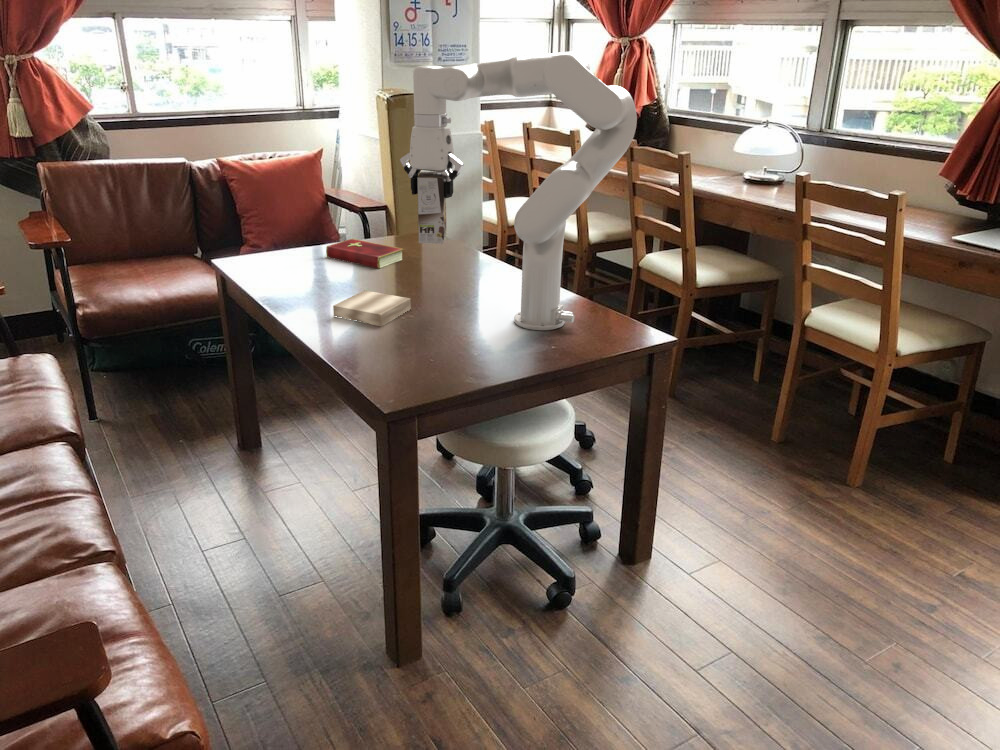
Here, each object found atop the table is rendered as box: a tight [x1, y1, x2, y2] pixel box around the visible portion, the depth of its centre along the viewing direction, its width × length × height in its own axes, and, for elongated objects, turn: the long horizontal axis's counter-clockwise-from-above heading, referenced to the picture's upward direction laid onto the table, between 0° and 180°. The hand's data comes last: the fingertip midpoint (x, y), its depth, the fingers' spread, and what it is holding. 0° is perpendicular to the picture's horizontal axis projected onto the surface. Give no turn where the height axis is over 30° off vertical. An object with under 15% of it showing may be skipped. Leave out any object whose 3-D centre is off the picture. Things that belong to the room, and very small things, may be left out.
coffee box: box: [417, 171, 448, 245], centre depth 200 cm, size 9×6×16 cm
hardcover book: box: [325, 238, 405, 270], centre depth 251 cm, size 12×21×4 cm, turn 58°
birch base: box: [332, 290, 412, 327], centre depth 206 cm, size 14×14×3 cm
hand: (432, 195), depth 199 cm, fingers closed on coffee box, 8 cm apart
